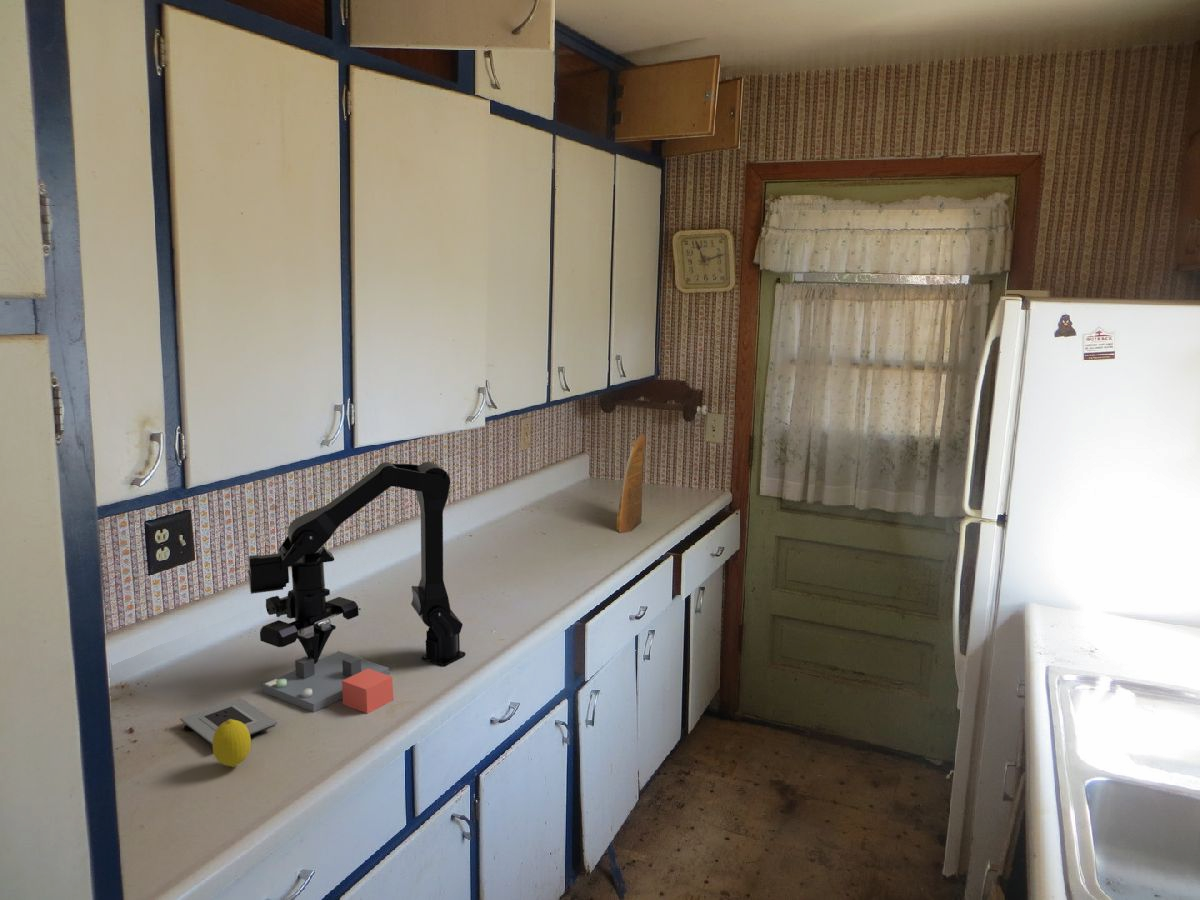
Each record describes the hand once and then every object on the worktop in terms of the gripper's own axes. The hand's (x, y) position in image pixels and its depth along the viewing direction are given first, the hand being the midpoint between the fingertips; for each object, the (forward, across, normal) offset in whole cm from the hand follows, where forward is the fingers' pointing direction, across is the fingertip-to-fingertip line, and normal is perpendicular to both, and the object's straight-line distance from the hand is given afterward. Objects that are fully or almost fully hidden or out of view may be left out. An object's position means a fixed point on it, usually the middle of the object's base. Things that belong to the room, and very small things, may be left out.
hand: (313, 663), depth 173 cm
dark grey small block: (+1, -3, +7) cm, 8 cm away
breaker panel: (+3, 0, +4) cm, 5 cm away
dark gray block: (+1, +2, 0) cm, 3 cm away
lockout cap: (+3, +1, +16) cm, 16 cm away
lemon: (+3, +28, +15) cm, 32 cm away
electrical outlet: (+3, +21, +4) cm, 22 cm away
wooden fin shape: (+5, -125, -6) cm, 125 cm away
